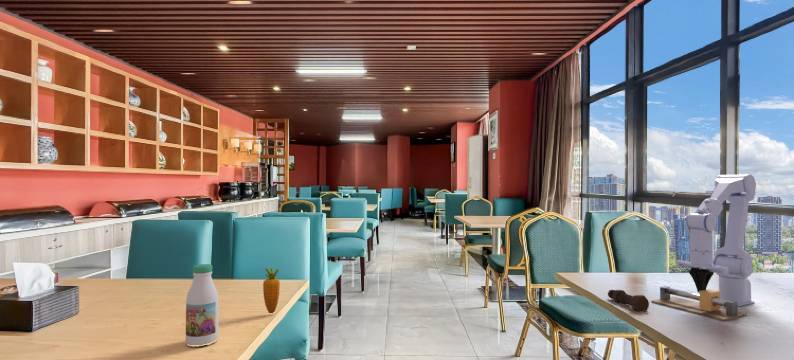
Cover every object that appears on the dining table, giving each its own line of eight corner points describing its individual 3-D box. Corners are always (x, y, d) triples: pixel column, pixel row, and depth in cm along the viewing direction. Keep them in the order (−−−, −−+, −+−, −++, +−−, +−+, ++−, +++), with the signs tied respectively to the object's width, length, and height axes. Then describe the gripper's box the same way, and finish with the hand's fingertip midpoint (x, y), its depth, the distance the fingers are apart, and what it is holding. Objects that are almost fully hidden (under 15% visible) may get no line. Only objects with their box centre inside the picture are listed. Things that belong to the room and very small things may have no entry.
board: (651, 302, 141) (651, 300, 141) (673, 298, 146) (672, 296, 146) (724, 321, 121) (724, 318, 121) (746, 315, 127) (746, 313, 127)
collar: (699, 308, 130) (699, 290, 131) (710, 306, 133) (709, 288, 133) (710, 311, 128) (709, 293, 128) (720, 309, 130) (720, 291, 130)
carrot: (283, 313, 130) (283, 266, 131) (272, 318, 126) (272, 269, 126) (270, 311, 132) (270, 265, 133) (259, 316, 128) (259, 268, 128)
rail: (660, 300, 143) (660, 286, 143) (665, 299, 144) (665, 285, 144) (732, 318, 124) (732, 302, 124) (737, 317, 125) (737, 301, 125)
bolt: (613, 304, 146) (644, 316, 131) (601, 297, 146) (631, 308, 131) (620, 289, 147) (651, 299, 132) (609, 283, 146) (639, 292, 131)
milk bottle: (193, 337, 110) (193, 262, 110) (222, 336, 111) (222, 262, 111) (180, 348, 102) (180, 268, 103) (212, 347, 103) (212, 267, 103)
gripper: (670, 248, 138) (670, 288, 137) (719, 254, 125) (719, 299, 124) (682, 246, 141) (683, 286, 140) (732, 252, 128) (732, 296, 127)
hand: (701, 292), depth 133 cm, fingers closed
